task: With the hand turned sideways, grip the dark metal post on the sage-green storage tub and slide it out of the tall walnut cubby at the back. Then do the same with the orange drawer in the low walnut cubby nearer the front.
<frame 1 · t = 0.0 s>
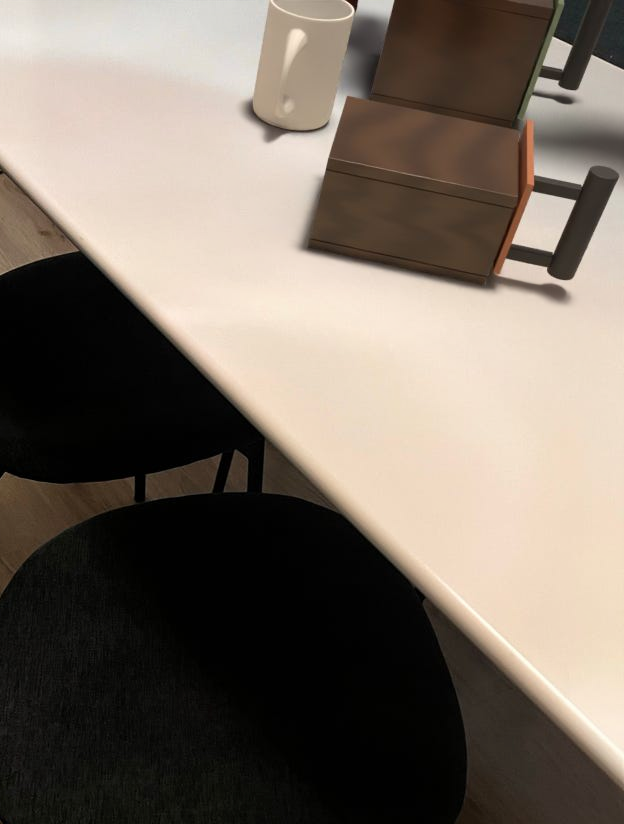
tub sage: (500, 34, 113), point 7 cm above the table, slide at 0.0 cm
orange drawer: (468, 178, 91), point 6 cm above the table, slide at 0.0 cm
cubby tall: (442, 91, 119), on the table
mug: (285, 122, 109), on the table
apple: (319, 35, 127), on the table
cubby low: (401, 230, 95), on the table
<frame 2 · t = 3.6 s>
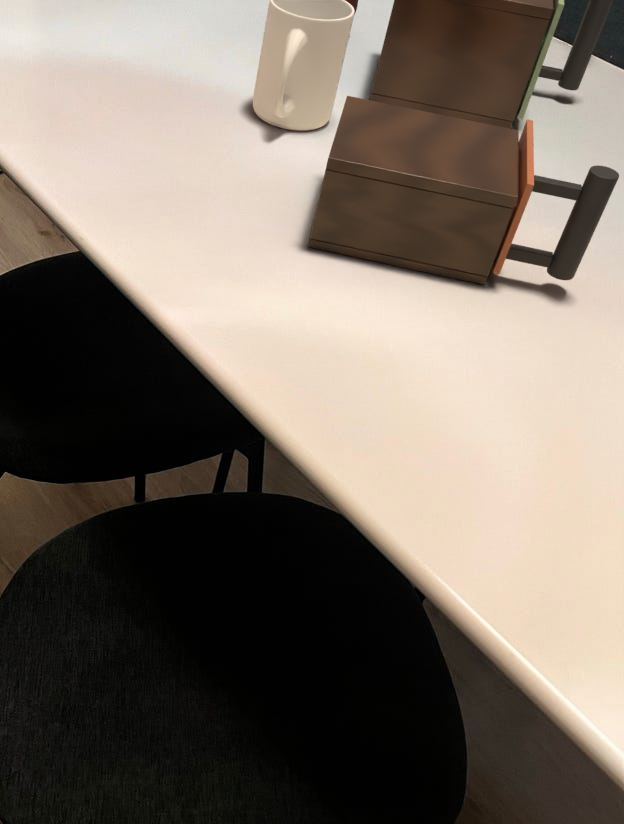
nothing on the table moved.
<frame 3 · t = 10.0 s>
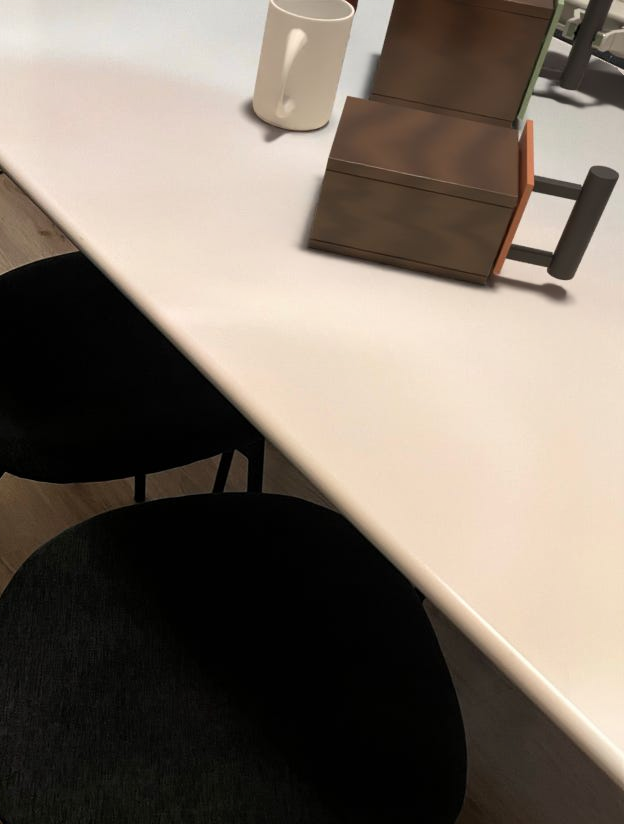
hand: (584, 36, 115), 7 cm above the table, tool horizontal, fingers closed on tub sage, 2 cm apart
tub sage: (500, 34, 113), point 7 cm above the table, slide at 0.0 cm, touching gripper
everything else where it was.
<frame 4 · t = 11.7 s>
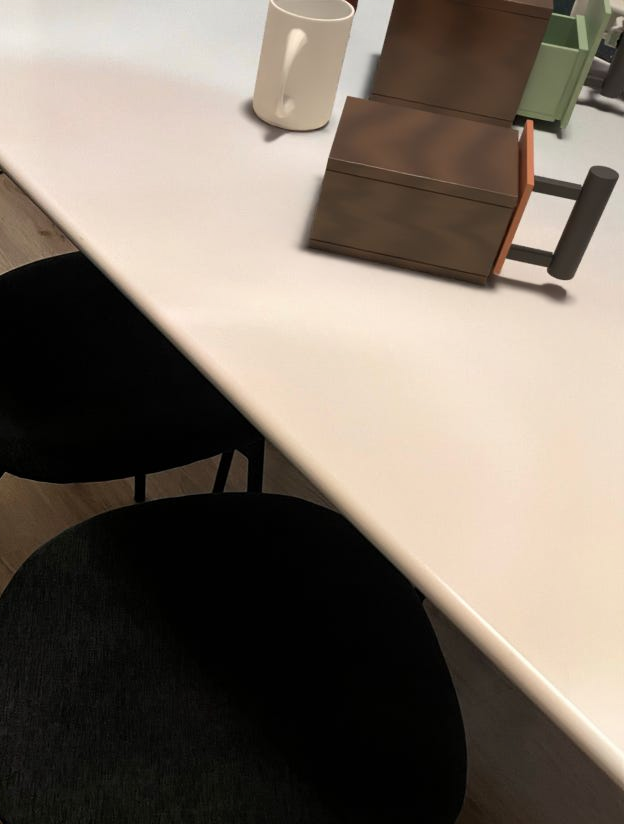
tub sage: (544, 43, 113), point 7 cm above the table, slide at 4.8 cm, touching gripper
everything else where it was.
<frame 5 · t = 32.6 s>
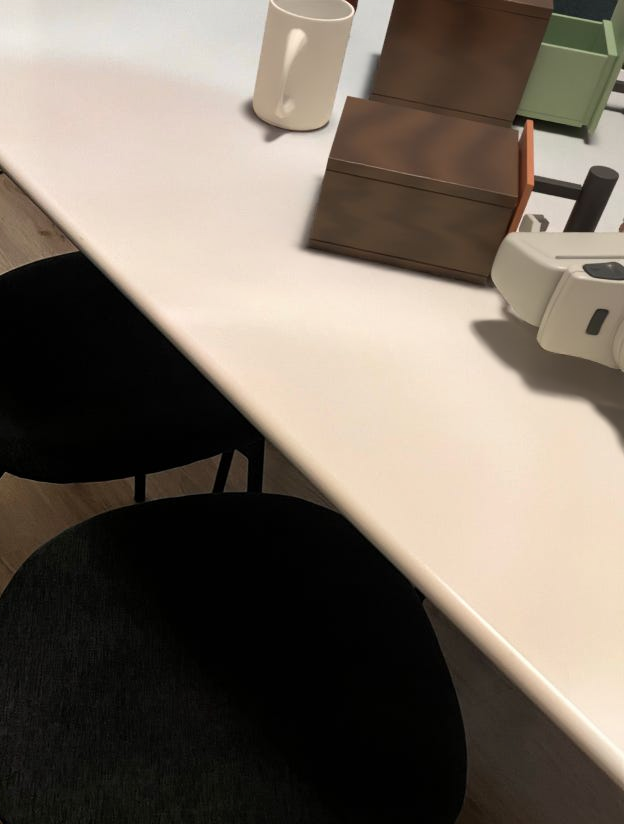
hand: (579, 222, 87), 6 cm above the table, tool horizontal, fingers open, 8 cm apart
tub sage: (571, 48, 112), point 7 cm above the table, slide at 7.8 cm
orange drawer: (468, 178, 91), point 6 cm above the table, slide at 0.0 cm, touching gripper
everything else where it was.
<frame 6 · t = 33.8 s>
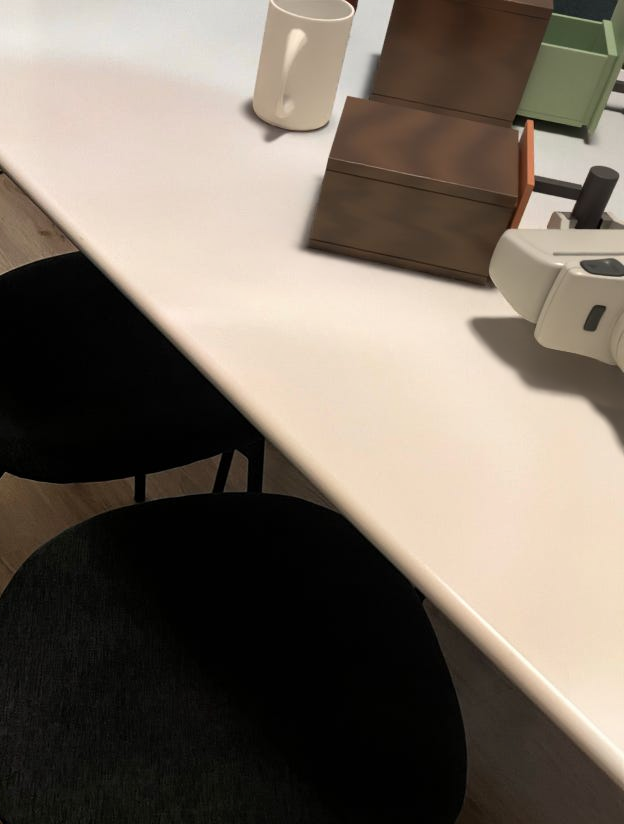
hand: (576, 219, 87), 6 cm above the table, tool horizontal, fingers closed on orange drawer, 2 cm apart
orange drawer: (468, 178, 91), point 6 cm above the table, slide at 0.0 cm, touching gripper
everything else where it was.
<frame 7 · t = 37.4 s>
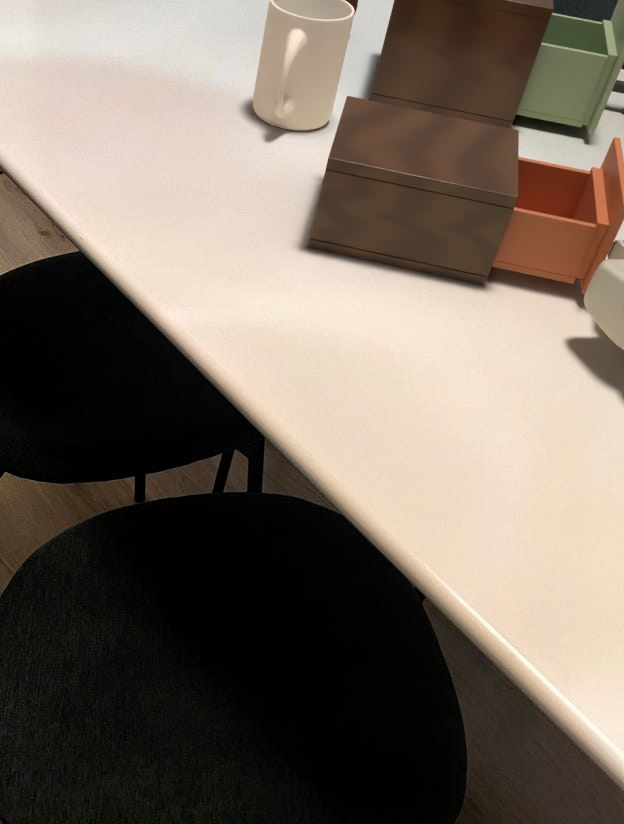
orange drawer: (556, 196, 90), point 6 cm above the table, slide at 7.8 cm
everything else where it was.
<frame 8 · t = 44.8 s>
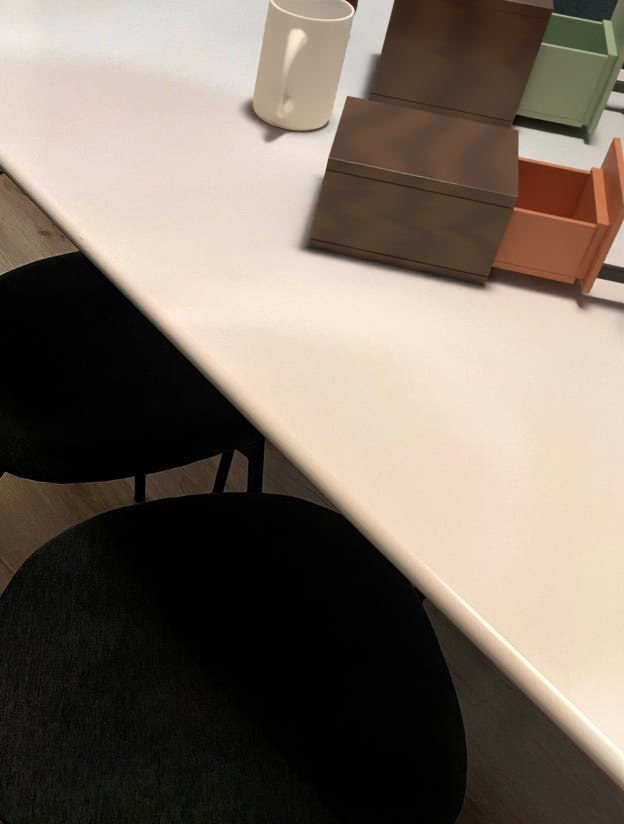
nothing on the table moved.
at the end: tub sage slide at 7.8 cm; orange drawer slide at 7.8 cm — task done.
